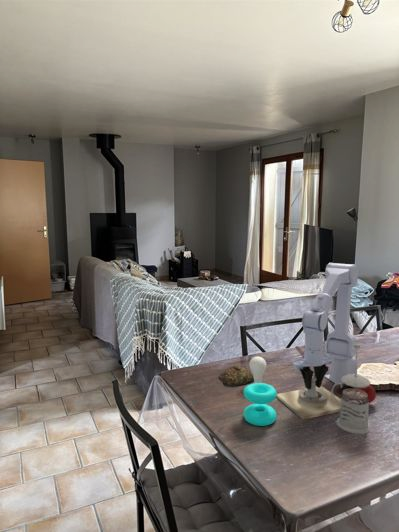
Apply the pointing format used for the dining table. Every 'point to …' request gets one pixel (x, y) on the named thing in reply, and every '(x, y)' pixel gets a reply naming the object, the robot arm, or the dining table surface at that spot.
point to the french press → (352, 418)
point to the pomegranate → (369, 393)
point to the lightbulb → (257, 368)
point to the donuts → (260, 404)
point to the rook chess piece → (312, 389)
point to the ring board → (307, 409)
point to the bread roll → (236, 376)
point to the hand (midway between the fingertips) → (312, 387)
